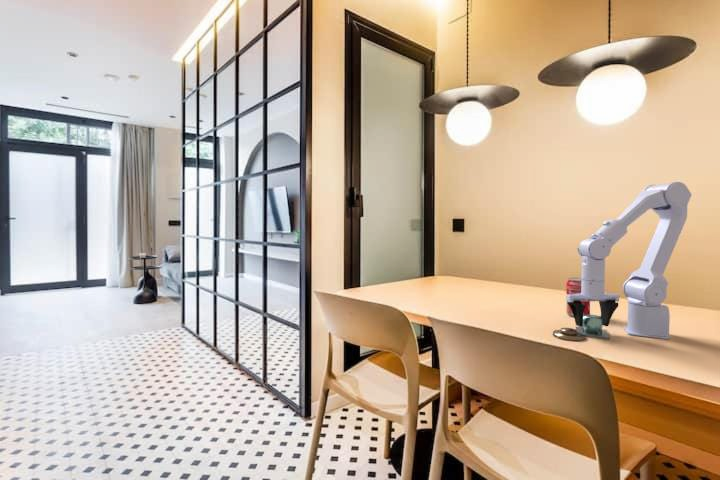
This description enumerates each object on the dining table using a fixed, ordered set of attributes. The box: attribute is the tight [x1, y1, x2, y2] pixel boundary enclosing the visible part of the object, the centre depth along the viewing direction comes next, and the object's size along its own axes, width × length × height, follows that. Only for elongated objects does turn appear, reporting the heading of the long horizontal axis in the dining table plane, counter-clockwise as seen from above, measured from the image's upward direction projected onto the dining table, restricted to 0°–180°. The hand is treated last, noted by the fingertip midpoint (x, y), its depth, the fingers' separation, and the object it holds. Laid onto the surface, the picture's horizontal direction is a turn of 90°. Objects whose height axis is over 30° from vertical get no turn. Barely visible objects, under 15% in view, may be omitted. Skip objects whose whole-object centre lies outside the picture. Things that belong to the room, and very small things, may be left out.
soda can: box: [565, 277, 591, 318], centre depth 127 cm, size 7×7×13 cm
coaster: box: [575, 326, 611, 340], centre depth 108 cm, size 8×8×1 cm
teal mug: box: [582, 313, 603, 335], centre depth 108 cm, size 7×5×4 cm
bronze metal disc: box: [552, 327, 586, 342], centre depth 106 cm, size 8×8×2 cm
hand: (591, 325), depth 108 cm, fingers open, 7 cm apart
